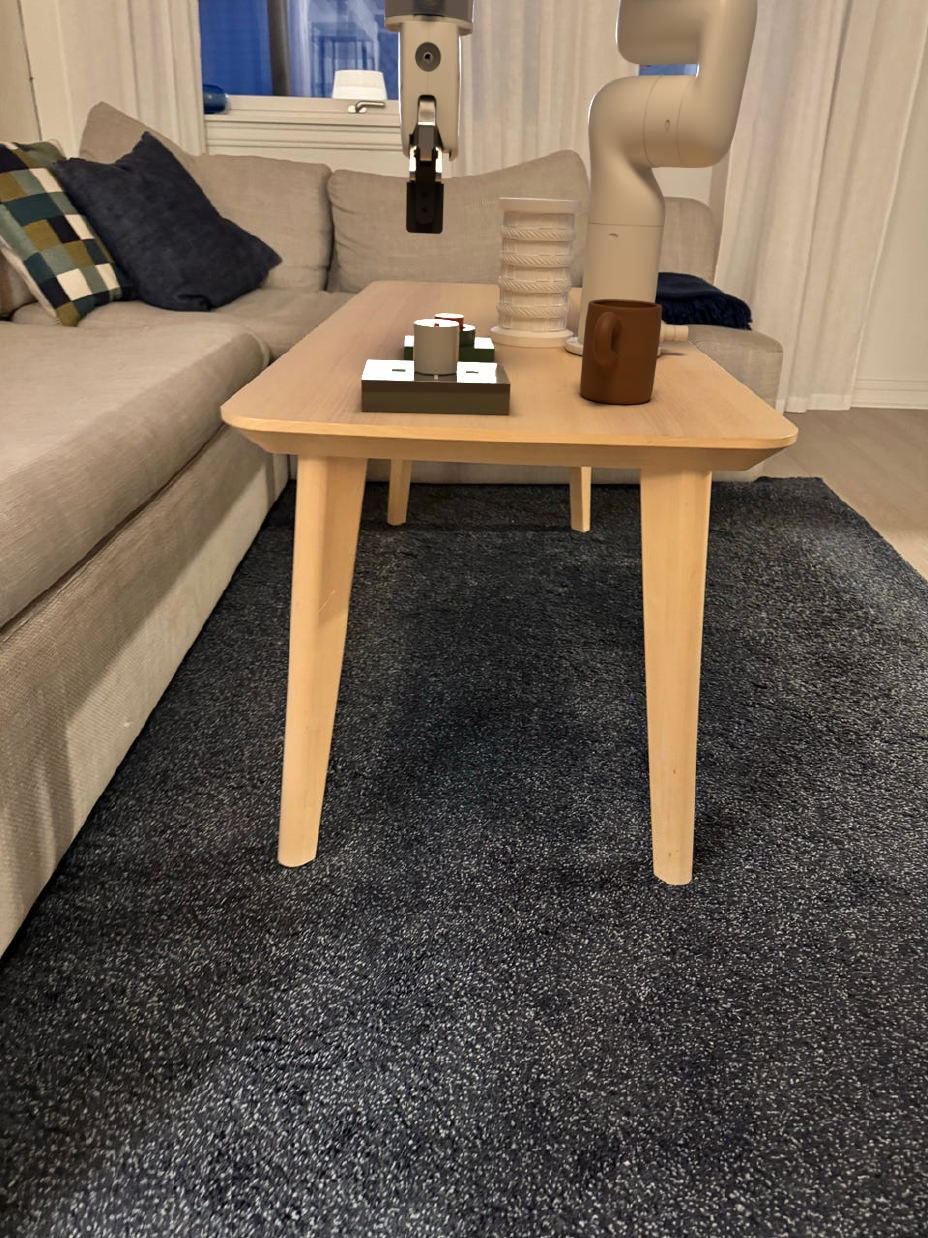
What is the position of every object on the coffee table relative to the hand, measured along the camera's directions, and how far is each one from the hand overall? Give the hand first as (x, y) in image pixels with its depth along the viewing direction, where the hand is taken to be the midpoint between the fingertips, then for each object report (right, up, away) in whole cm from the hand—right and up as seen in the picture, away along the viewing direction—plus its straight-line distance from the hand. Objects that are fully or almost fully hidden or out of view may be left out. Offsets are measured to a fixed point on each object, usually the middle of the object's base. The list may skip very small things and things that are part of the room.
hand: (424, 230), depth 84 cm
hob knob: (+1, -11, +6) cm, 13 cm away
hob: (+1, -14, +7) cm, 16 cm away
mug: (+19, -14, +10) cm, 25 cm away
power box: (+2, -3, +30) cm, 30 cm away
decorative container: (+13, +3, +44) cm, 46 cm away
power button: (+2, 0, +29) cm, 29 cm away
